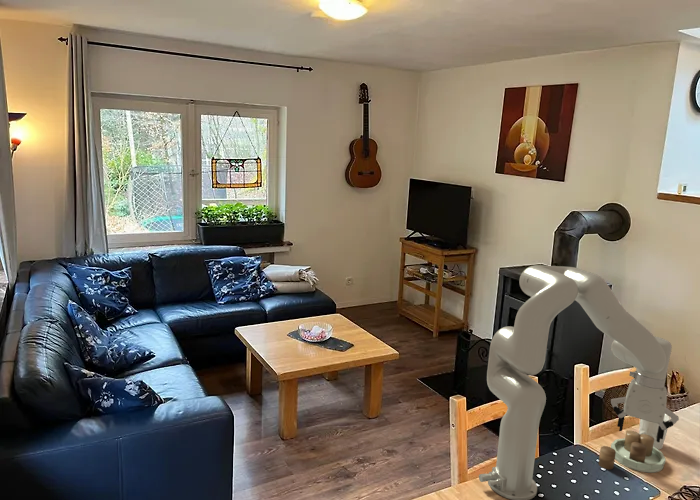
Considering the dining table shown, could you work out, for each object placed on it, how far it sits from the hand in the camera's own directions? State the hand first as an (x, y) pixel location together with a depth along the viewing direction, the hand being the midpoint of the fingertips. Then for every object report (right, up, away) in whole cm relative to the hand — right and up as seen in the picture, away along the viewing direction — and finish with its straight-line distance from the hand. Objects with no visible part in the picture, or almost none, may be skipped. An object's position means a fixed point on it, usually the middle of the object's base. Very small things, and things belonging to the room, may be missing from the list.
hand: (638, 434), depth 154 cm
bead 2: (0, -9, +2) cm, 9 cm away
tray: (+2, -9, +5) cm, 11 cm away
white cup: (+11, -8, +14) cm, 19 cm away
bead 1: (-9, -9, +1) cm, 13 cm away
